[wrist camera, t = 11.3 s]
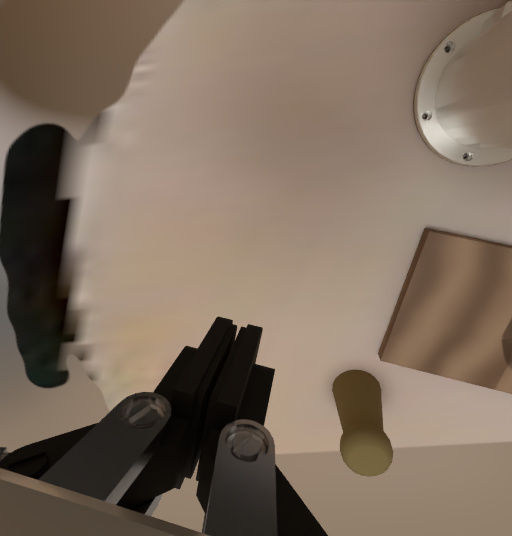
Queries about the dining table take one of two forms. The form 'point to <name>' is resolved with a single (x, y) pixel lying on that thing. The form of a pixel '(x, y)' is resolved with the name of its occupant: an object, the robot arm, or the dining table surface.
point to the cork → (362, 423)
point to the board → (455, 312)
